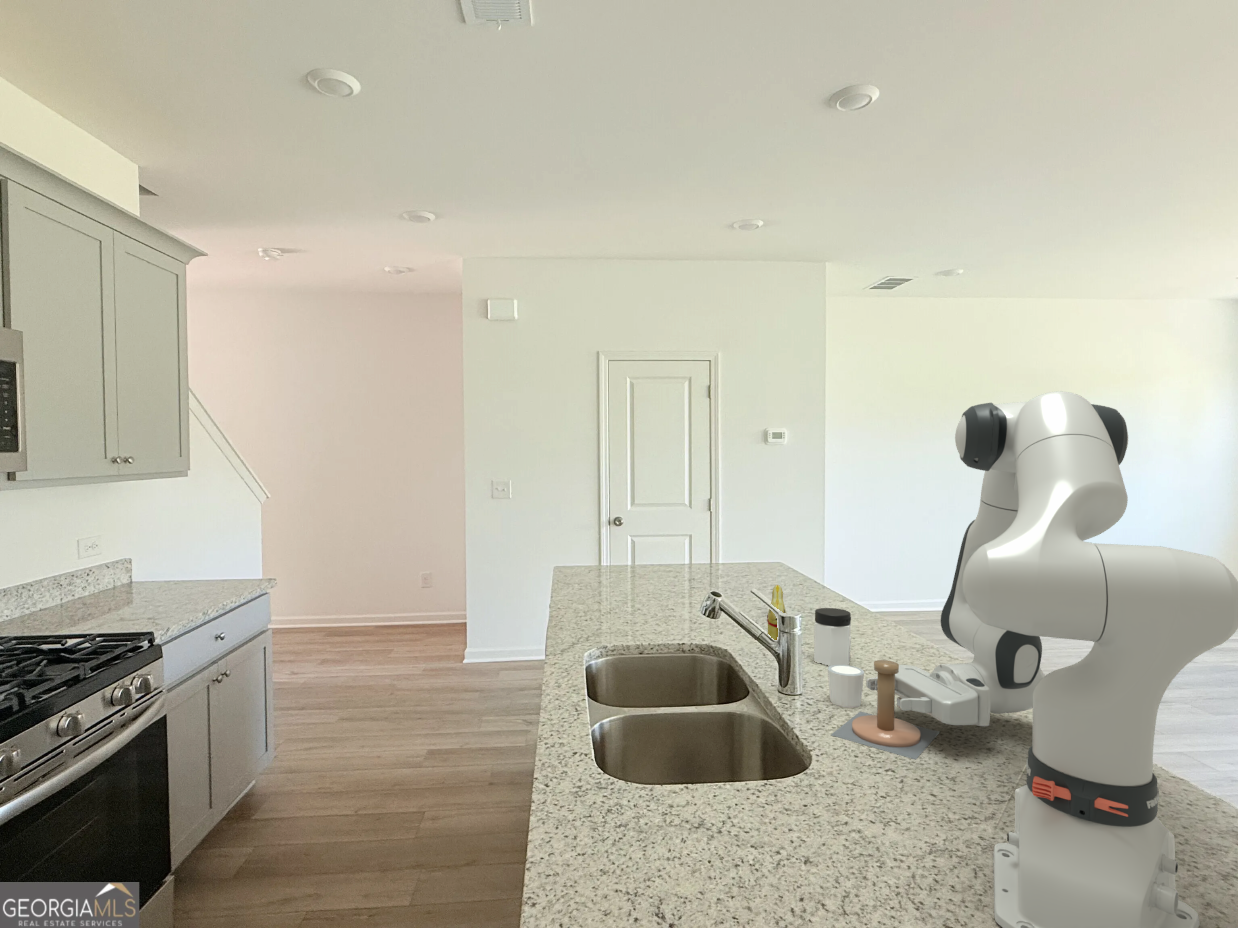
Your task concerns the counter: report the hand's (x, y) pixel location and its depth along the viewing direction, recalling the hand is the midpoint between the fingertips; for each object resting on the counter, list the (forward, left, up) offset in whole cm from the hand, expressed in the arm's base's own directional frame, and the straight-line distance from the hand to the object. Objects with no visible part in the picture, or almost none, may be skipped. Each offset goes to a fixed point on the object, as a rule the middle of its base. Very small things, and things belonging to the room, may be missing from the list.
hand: (883, 693), depth 114 cm
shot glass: (+10, +11, -8) cm, 17 cm away
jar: (+35, +24, -8) cm, 43 cm away
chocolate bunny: (+42, +41, -8) cm, 59 cm away
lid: (0, 0, -7) cm, 7 cm away
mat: (0, 0, -8) cm, 8 cm away
